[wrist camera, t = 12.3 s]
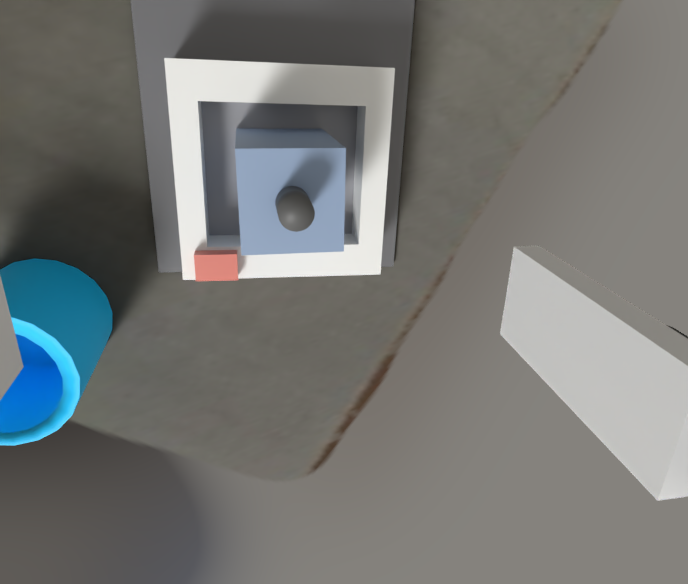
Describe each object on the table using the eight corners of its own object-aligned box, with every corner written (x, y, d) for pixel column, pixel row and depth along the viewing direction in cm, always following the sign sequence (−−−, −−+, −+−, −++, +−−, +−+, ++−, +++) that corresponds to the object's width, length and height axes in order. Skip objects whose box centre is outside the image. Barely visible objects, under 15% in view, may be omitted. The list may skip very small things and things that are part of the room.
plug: (236, 128, 31) (234, 155, 22) (321, 128, 32) (354, 154, 22) (241, 212, 33) (241, 270, 24) (321, 210, 34) (351, 265, 24)
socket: (127, -46, 28) (104, -67, 24) (414, -24, 31) (445, -40, 26) (159, 270, 35) (147, 302, 31) (391, 264, 38) (413, 292, 33)
